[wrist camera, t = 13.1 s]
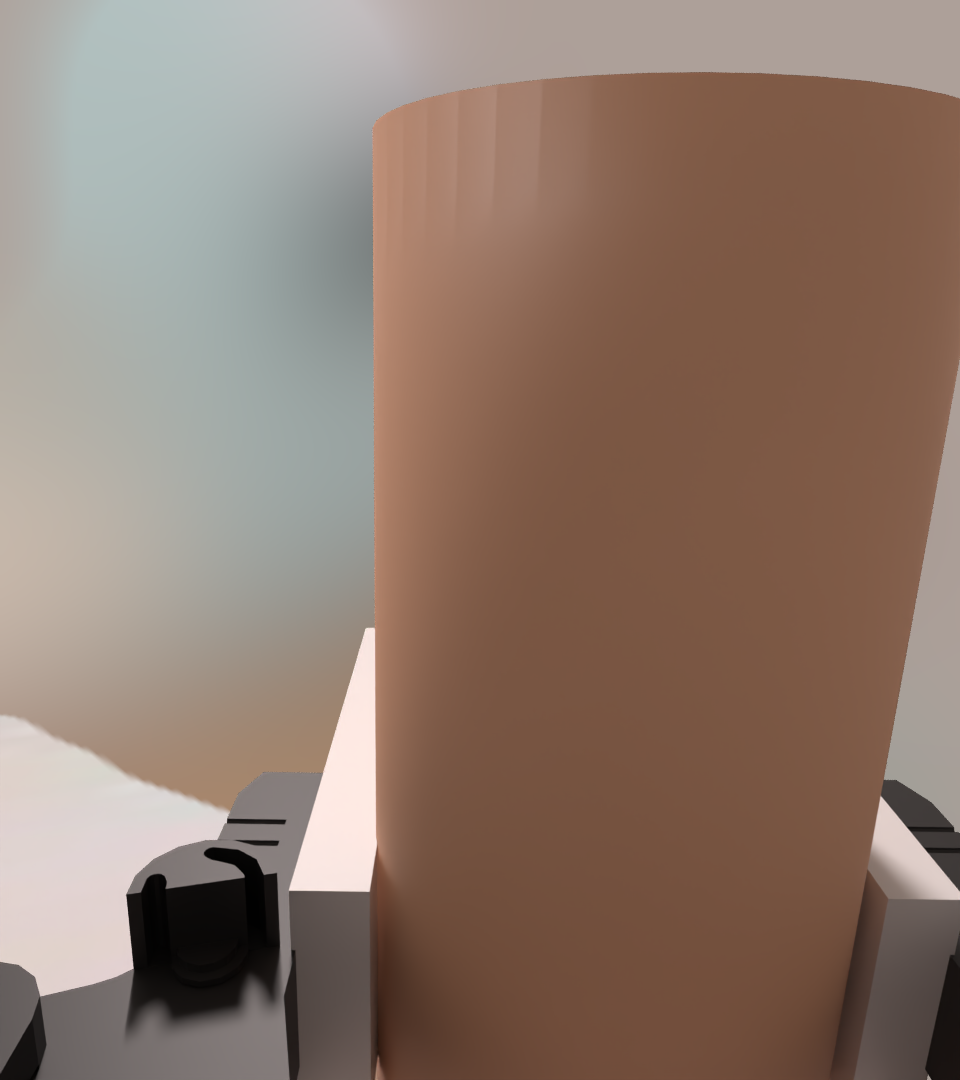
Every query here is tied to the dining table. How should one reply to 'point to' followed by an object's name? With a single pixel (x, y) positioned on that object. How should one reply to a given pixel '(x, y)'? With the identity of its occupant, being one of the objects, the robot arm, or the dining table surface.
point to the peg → (646, 557)
